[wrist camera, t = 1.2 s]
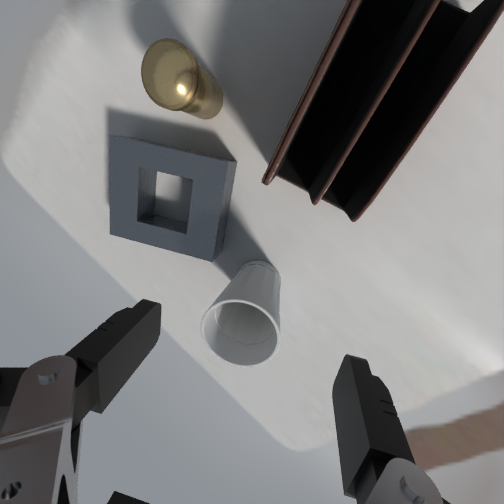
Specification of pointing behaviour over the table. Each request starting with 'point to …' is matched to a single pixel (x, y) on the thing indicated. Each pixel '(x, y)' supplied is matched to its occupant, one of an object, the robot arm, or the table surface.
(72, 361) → the robot arm
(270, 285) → the cup
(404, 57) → the letter holder
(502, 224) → the table surface
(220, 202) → the grey hollow block
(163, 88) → the fitting
